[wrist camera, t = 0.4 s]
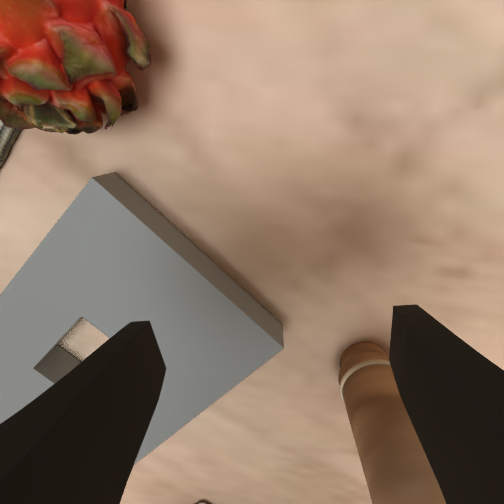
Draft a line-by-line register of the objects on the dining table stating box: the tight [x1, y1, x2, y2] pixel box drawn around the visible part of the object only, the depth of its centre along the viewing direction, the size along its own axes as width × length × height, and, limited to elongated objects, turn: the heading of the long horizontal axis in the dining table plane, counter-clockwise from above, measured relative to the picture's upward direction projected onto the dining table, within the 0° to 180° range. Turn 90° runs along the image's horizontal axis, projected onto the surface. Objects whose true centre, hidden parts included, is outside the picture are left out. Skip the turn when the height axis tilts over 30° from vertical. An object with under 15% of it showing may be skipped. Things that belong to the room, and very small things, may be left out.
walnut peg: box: [338, 342, 446, 504], centre depth 18 cm, size 4×4×9 cm
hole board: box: [0, 172, 284, 464], centre depth 21 cm, size 20×14×2 cm
